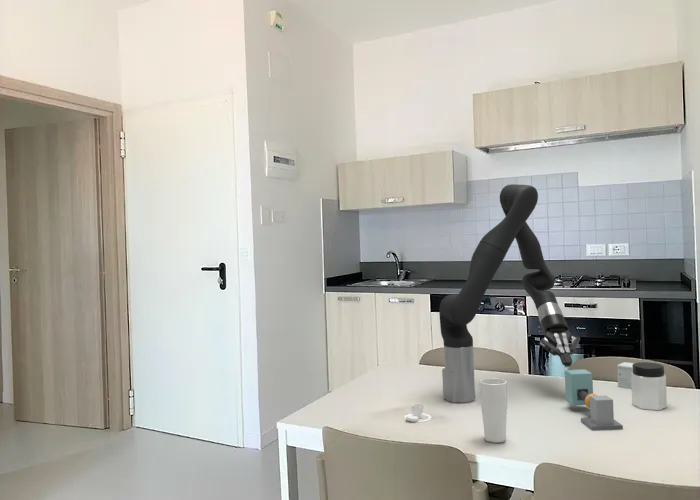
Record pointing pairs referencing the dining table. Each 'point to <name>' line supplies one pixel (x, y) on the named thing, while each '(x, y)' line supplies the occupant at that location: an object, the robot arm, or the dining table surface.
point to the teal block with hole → (577, 385)
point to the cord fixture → (599, 412)
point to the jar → (648, 386)
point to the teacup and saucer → (416, 413)
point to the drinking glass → (494, 408)
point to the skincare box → (624, 374)
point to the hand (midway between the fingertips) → (568, 365)
